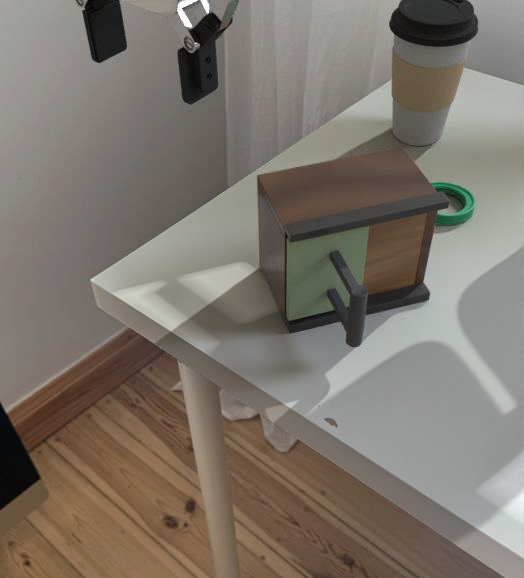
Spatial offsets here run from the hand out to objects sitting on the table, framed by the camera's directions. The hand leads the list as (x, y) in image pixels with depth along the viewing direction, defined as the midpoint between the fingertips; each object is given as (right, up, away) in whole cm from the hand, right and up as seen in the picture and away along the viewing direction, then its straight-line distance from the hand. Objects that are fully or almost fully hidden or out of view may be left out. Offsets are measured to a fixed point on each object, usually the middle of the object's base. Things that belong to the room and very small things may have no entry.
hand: (153, 75), depth 55 cm
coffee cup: (+27, +5, +33) cm, 43 cm away
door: (+15, -19, +10) cm, 26 cm away
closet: (+16, -14, +17) cm, 27 cm away
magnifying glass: (+23, -5, +24) cm, 34 cm away
